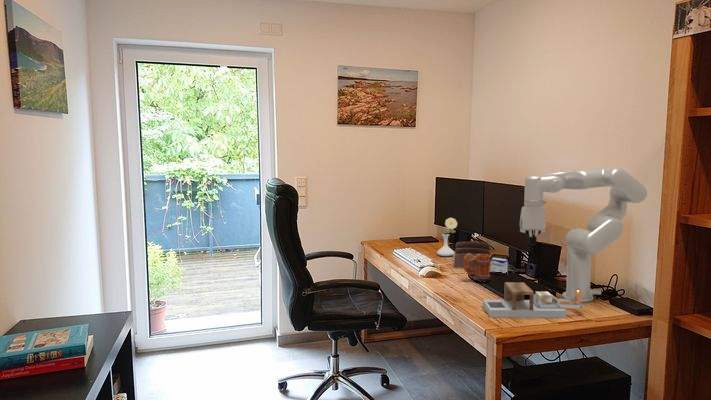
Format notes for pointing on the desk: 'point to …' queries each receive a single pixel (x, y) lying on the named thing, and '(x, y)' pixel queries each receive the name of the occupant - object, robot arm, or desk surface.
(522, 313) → the track deck
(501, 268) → the box
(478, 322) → the desk surface
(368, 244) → the desk surface
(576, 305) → the sled
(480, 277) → the mug
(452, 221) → the flower in vase
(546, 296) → the block
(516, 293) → the tunnel
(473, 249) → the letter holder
